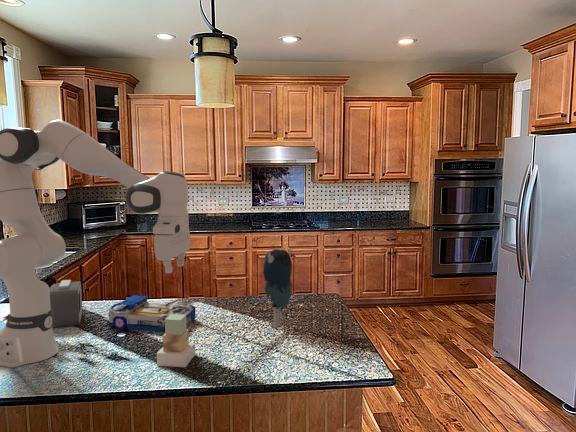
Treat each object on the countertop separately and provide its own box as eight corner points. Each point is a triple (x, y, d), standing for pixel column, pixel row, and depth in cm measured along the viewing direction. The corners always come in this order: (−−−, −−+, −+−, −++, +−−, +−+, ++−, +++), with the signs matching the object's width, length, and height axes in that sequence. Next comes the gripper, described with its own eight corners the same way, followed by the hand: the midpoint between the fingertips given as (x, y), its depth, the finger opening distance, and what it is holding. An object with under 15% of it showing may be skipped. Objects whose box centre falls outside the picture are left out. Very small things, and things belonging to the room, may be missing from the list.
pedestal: (157, 365, 131) (156, 353, 131) (168, 353, 140) (168, 341, 140) (185, 367, 130) (185, 354, 130) (195, 354, 139) (194, 342, 139)
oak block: (163, 351, 132) (162, 335, 132) (170, 343, 138) (170, 328, 137) (182, 352, 131) (181, 336, 131) (188, 344, 137) (188, 329, 137)
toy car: (179, 335, 156) (179, 308, 155) (105, 329, 162) (104, 303, 161) (196, 320, 172) (196, 296, 171) (129, 315, 177) (128, 292, 176)
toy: (279, 319, 173) (279, 245, 170) (300, 325, 167) (300, 249, 164) (256, 328, 163) (256, 250, 160) (277, 335, 156) (277, 254, 153)
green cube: (165, 335, 132) (164, 319, 131) (171, 329, 137) (171, 313, 136) (181, 335, 131) (180, 320, 131) (186, 329, 136) (186, 314, 136)
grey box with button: (79, 326, 163) (77, 286, 162) (45, 330, 159) (43, 289, 158) (82, 313, 178) (80, 276, 177) (51, 316, 174) (49, 279, 173)
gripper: (176, 220, 141) (177, 262, 143) (149, 228, 121) (151, 276, 123) (194, 221, 141) (195, 262, 142) (171, 229, 120) (172, 277, 122)
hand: (174, 269), depth 132 cm, fingers open, 8 cm apart
